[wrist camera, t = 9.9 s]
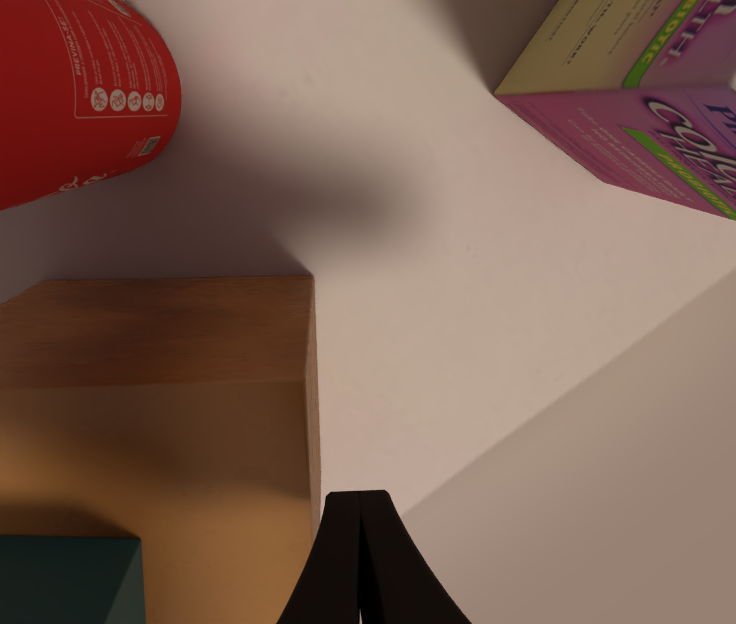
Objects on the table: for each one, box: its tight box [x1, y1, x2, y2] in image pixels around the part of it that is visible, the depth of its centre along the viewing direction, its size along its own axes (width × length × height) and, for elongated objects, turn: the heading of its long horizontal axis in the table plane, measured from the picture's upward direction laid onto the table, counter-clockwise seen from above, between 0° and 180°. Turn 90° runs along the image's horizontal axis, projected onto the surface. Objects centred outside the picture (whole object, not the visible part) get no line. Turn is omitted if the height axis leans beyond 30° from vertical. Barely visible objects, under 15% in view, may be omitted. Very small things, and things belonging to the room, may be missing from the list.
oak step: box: [0, 276, 321, 624], centre depth 18 cm, size 10×9×8 cm
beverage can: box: [0, 0, 181, 211], centre depth 12 cm, size 5×5×12 cm
